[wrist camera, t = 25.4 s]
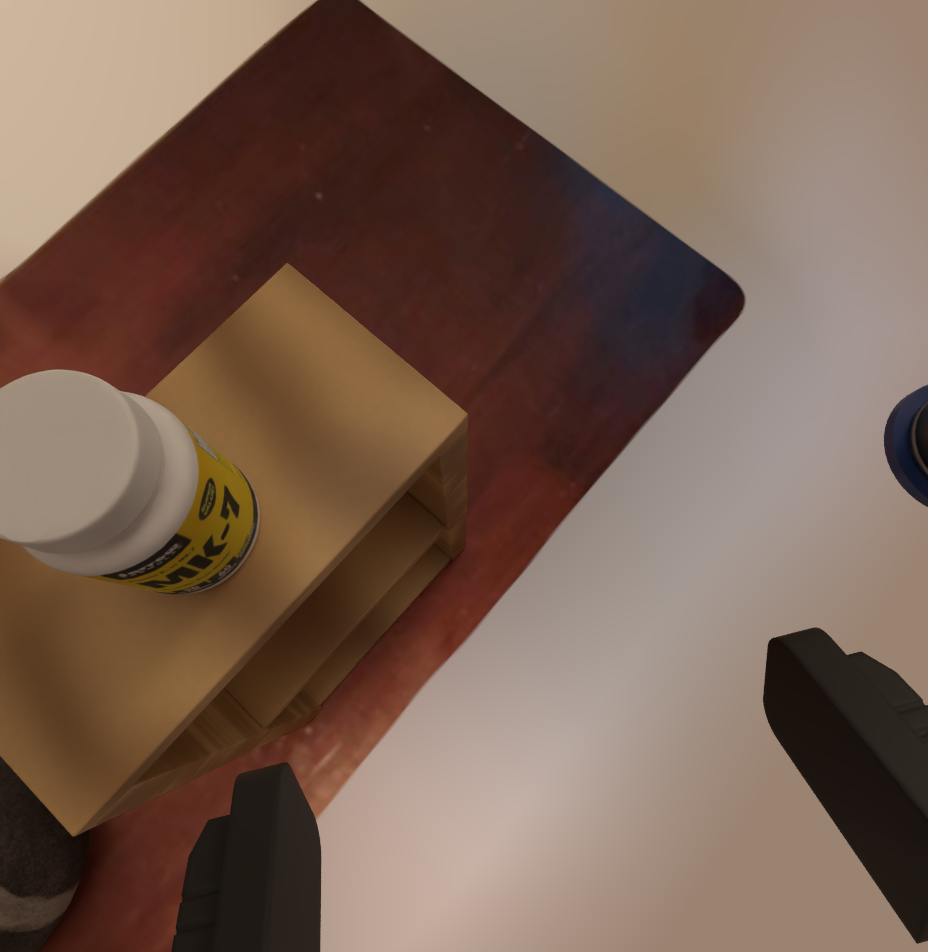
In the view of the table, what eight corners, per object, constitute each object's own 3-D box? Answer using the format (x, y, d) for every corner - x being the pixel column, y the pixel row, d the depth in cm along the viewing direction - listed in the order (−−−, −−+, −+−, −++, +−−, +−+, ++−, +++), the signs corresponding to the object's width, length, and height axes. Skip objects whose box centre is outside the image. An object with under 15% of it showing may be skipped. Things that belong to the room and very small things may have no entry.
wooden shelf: (384, 474, 56) (287, 261, 25) (466, 546, 55) (469, 414, 24) (226, 642, 53) (-111, 634, 22) (308, 723, 51) (72, 838, 20)
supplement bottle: (197, 625, 22) (41, 611, 14) (91, 539, 23) (-118, 477, 14) (293, 508, 23) (199, 430, 15) (188, 429, 24) (44, 313, 15)
